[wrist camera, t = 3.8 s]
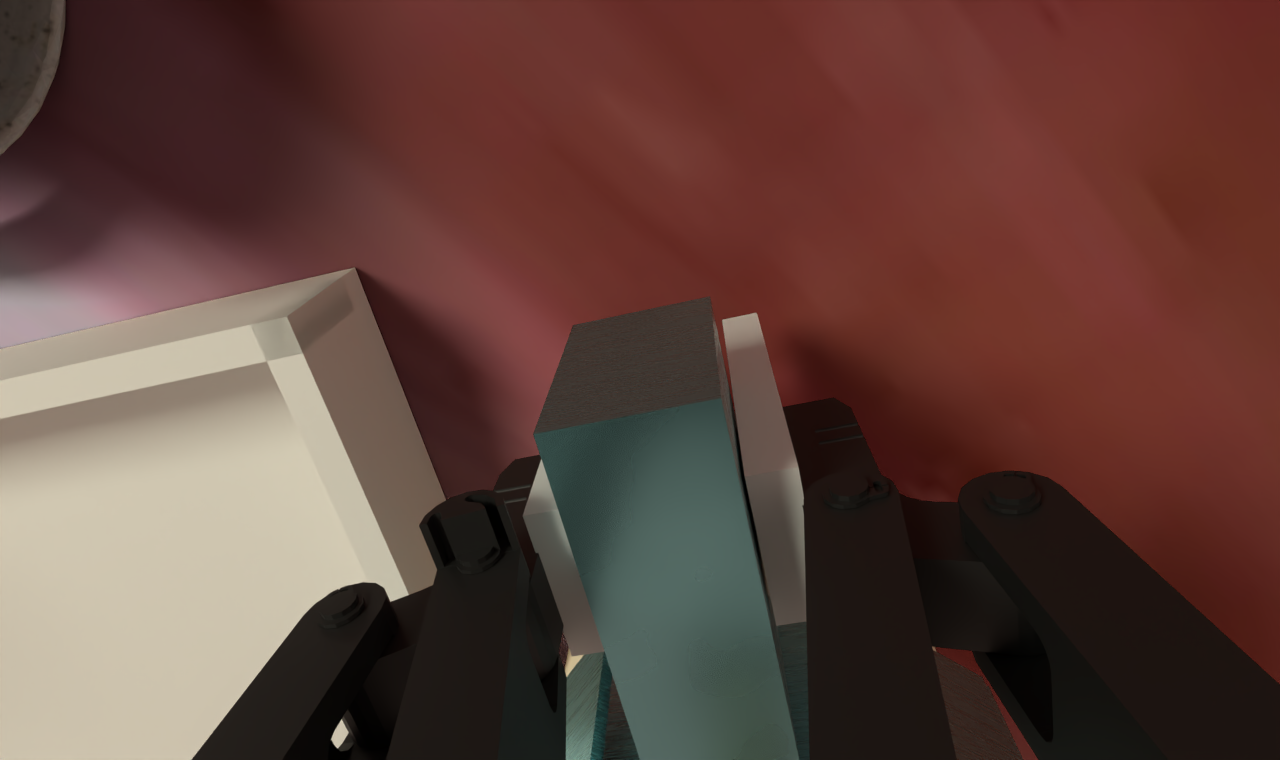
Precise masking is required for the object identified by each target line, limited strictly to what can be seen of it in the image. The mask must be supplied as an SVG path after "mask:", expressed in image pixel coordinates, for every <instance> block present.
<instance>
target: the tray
mask: <svg viewBox="0 0 1280 760" xmlns="http://www.w3.org/2000/svg"><path fill="white" fill-rule="evenodd" d="M444 501H446V499H445V496H444V493H443V491H442V488H441V486H440V483H439V481H438V478H437V476H436V473H435V470H434V468H433V465H432V463H431V460H430V458H429V455H428V453H427V450H426V448H425V445H424V442H423V440H422V437H421V435H420V432H419V430H418V427H417V425H416V422H415V420H414V417H413V414H412V412H411V409H410V407H409V404H408V402H407V399H406V397H405V394H404V391H403V389H402V386H401V384H400V381H399V379H398V376H397V374H396V371H395V369H394V366H393V363H392V361H391V358H390V356H389V353H388V351H387V348H386V346H385V343H384V341H383V338H382V335H381V333H380V330H379V328H378V325H377V323H376V320H375V318H374V315H373V313H372V310H371V307H370V305H369V302H368V300H367V297H366V295H365V292H364V290H363V287H362V284H361V282H360V279H359V277H358V274H357V272H356V269H355V267H354V268H350V269H346V270H341V271H337V272H333V273H328V274H324V275H320V276H315V277H311V278H307V279H302V280H298V281H294V282H289V283H285V284H281V285H276V286H272V287H268V288H263V289H259V290H255V291H250V292H246V293H241V294H237V295H233V296H228V297H224V298H220V299H215V300H211V301H207V302H202V303H198V304H194V305H189V306H185V307H181V308H176V309H172V310H168V311H163V312H159V313H155V314H150V315H146V316H142V317H137V318H133V319H128V320H124V321H120V322H115V323H111V324H107V325H102V326H98V327H94V328H89V329H85V330H81V331H76V332H72V333H68V334H63V335H59V336H55V337H50V338H46V339H42V340H37V341H33V342H29V343H24V344H20V345H16V346H11V347H7V348H2V349H0V760H192V758H193V757H194V756H195V754H196V753H197V752H198V751H199V749H200V748H201V747H202V745H203V744H204V743H205V742H206V740H207V739H208V738H209V736H210V735H211V734H212V733H213V731H214V730H215V729H216V727H217V726H218V725H219V724H220V722H221V721H222V720H223V718H224V717H225V716H226V715H227V713H228V712H229V711H230V709H231V708H232V707H233V706H234V704H235V703H236V702H237V700H238V699H239V698H240V697H241V695H242V694H243V693H244V691H245V690H246V689H247V688H248V686H249V685H250V684H251V682H252V681H253V680H254V679H255V677H256V676H257V675H258V673H259V672H260V671H261V670H262V668H263V667H264V666H265V664H266V663H267V662H268V660H269V659H270V658H271V657H272V655H273V654H274V653H275V651H276V650H277V649H278V648H279V646H280V645H281V644H282V642H283V641H284V640H285V639H286V637H287V636H288V635H289V633H290V632H291V631H292V630H293V628H294V627H295V626H296V624H297V623H298V622H299V621H300V619H301V618H302V617H303V615H304V614H305V613H306V612H307V611H308V610H309V609H310V608H311V607H312V606H313V605H314V604H315V603H317V602H318V601H320V600H321V599H323V598H324V597H326V596H327V595H328V594H329V593H331V592H333V591H335V590H337V589H338V590H339V589H340V588H341V587H344V586H347V585H353V584H357V583H362V582H368V583H377V584H379V585H380V586H382V587H383V588H384V589H385V591H386V593H387V595H388V598H389V600H390V602H391V601H394V600H397V599H399V598H402V597H405V596H407V595H410V594H413V593H415V592H418V591H421V590H423V589H425V588H427V587H429V586H432V585H433V583H434V579H435V576H436V572H437V568H436V566H435V563H434V561H433V559H432V556H431V554H430V551H429V549H428V547H427V544H426V542H425V539H424V537H423V534H422V532H421V530H420V527H419V524H420V523H421V521H422V519H423V518H424V516H425V515H426V514H427V513H428V512H430V511H431V510H432V509H433V508H434V507H436V506H437V505H439V504H440V503H442V502H444ZM348 733H349V732H348V731H347V729H346V727H345V725H344V723H343V721H342V719H341V721H340V723H339V724H338V726H337V728H336V729H335V731H334V733H333V736H332V738H331V740H332V742H333V744H334V745H335V747H337V748H339V746H340V745H341V744H342V743H343V741H344V740H345V738H346V736H347V735H348Z"/></svg>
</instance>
